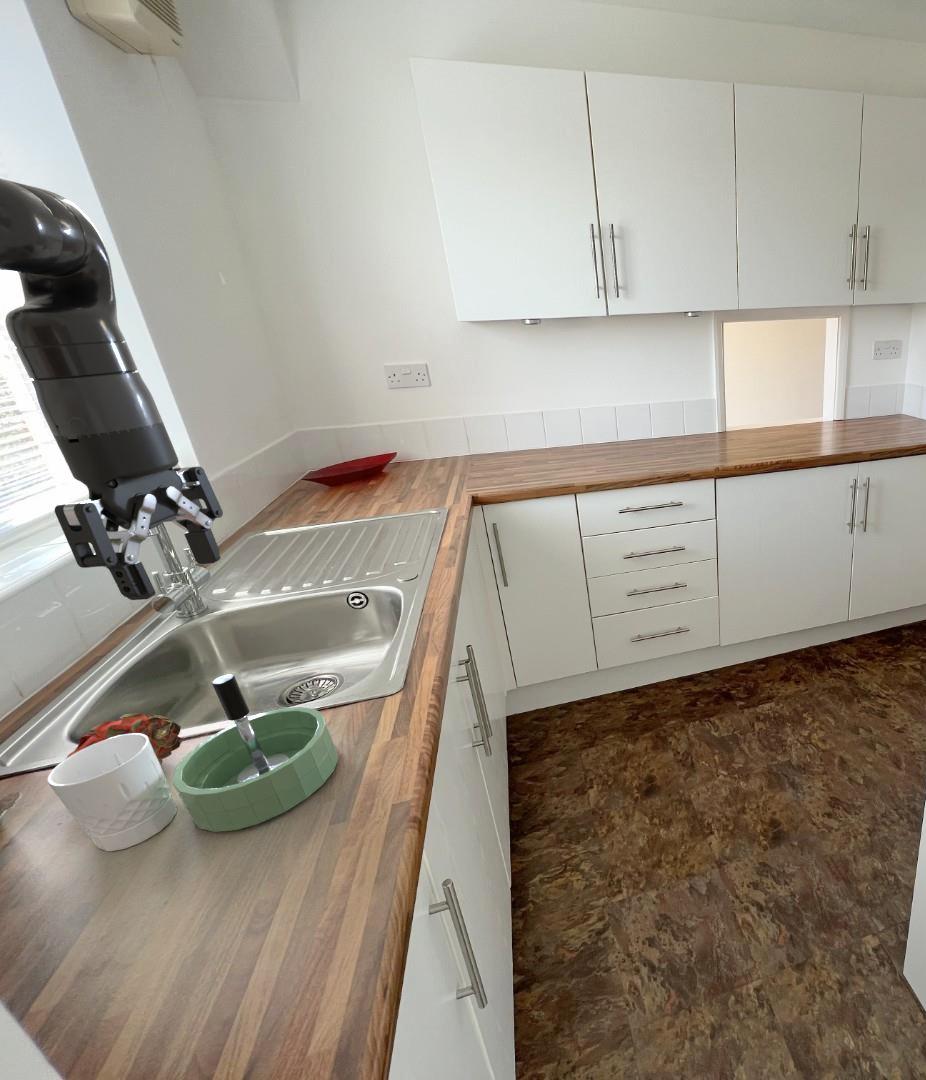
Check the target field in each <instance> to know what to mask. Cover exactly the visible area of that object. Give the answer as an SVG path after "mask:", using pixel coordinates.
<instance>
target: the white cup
mask: <svg viewBox="0 0 926 1080" xmlns="http://www.w3.org/2000/svg"><path fill="white" fill-rule="evenodd" d="M46 782H47V784H48V785H49V786H50V788H51V789H52V791H53V792H54V794H56V796H57V797H58V799H59V800H60V801H61V803H62V804H63V805H64V806H65V808H66V809H67V811H68V813H70V815H71V816H72V817H73V818H74V819H75V821H76V822H77V823H78V825H79V826H80V828H82V830H84V832H86V833H87V834H88V836H89V837H90V839H91V840H92V841H93V843H94V844H95V845H96V847H97V848H98V849H99V850H102V851H104V852H115V851H121V850H125V849H128V848H131V847H133V846H136V845H139V844H141V843H143V842H145V841H146V840H148V839H150V838H151V837H154V836H155V835H156V834H158V833H159V832H161V831H162V830H163V829H164V828H166V827H167V826H168V825H169V824H170V823H171V822H172V821H173V819H174V818H175V816H176V814H177V813H178V809H177V804H176V802H175V800H174V798H173V796H172V793H171V787H170V785H169V783H168V780H167V777H166V775H165V773H164V769H163V767H162V766H161V764H160V763H159V761H158V759H157V756H156V754H155V752H154V750H153V747H152V745H151V743H150V741H149V738H148V737H147V736H146V735H144V734H139V733H133V734H125V735H120V736H116V737H112V738H109V739H106V740H103V741H100V742H98V743H95V744H93V745H90V746H88V747H86V748H84V749H82V750H80V751H78V752H76V753H75V754H73V755H71V756H70V757H68V758H66V757H65V760H62V761H61V762H60V763H58V764H56V766H55V767H54V768H53V769H52V770H51V771H50V772H49V774H48V775H47V778H46Z"/></svg>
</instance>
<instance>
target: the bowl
mask: <svg viewBox="0 0 926 1080" xmlns="http://www.w3.org/2000/svg"><path fill="white" fill-rule="evenodd" d="M248 719H249V722H250V724H251V726H252V728H253V731H254V733H255V735H256V737H257V740H258V742H259V744H260V746H261V749H262V751H263V753H264V756H265V757H266V756H269V755H273V754H284V755H287V756H288V757H289V760H288V761H286V762H284V763H283V764H281V765H279V766H277V767H276V768H274V769H272V770H270V771H269V772H267V773H264V774H262V775H259V776H257V777H255V778H252V779H250V780H247V781H245V782H242V783H237V777H238V775H239V773H240V772H241V771H242V770H243V769H244V768H245V767H247V766H248V765H249V764H251V763H253V761H252V759H251V757H250V755H249V752H248V750H247V748H246V746H245V744H244V741H243V739H242V737H241V735H240V733H239V730H238V728H237V726H236V724H235V723H233V724H232V725H229V726H227V727H225V728H223V729H221V730H220V731H218V732H216V733H215V734H213V735H211V736H210V737H208V738H207V739H205V740H204V741H202V742H201V743H199V744H198V745H196V747H194V748H193V749H192V750H191V751H190V752H189V753H187V755H185V756H184V757H183V758H182V759H181V760H180V762H179V764H178V765H177V767H176V768H175V769H174V771H173V777H172V786H173V788H174V790H175V791H176V793H177V795H178V797H179V799H180V801H181V803H182V804H183V807H184V809H185V811H186V812H187V814H188V816H189V818H190V820H191V821H192V822H193V824H194V825H195V826H196V827H197V828H198V829H201V830H205V831H209V832H212V833H216V832H217V833H218V832H228V831H229V832H230V831H238V830H240V829H241V830H242V829H244V828H248V827H252V826H256V825H259V824H261V823H264V822H266V821H268V820H271V819H273V818H275V817H277V816H279V815H282V814H283V813H285V812H287V811H289V810H290V809H292V808H294V807H295V806H297V805H299V804H300V803H301V802H303V801H305V800H307V799H308V798H309V797H311V795H312V794H314V793H315V792H316V791H317V790H318V789H320V787H322V786H323V785H324V784H325V783H326V781H327V780H328V779H329V778H330V777H331V775H332V773H333V772H334V771H335V769H336V765H337V763H338V760H339V754H338V753H339V752H338V750H337V747H336V744H335V741H334V738H333V735H332V734H331V731H330V728H329V726H328V723H327V721H326V717H325V715H324V714H323V713H321V712H320V711H319V710H317V709H315V708H309V707H303V706H296V707H295V706H294V707H282V708H277V709H275V710H273V709H272V710H269V711H265V712H261V713H258V714H256V715H253V716H251V717H248Z"/></svg>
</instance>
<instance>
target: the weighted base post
mask: <svg viewBox="0 0 926 1080" xmlns="http://www.w3.org/2000/svg"><path fill="white" fill-rule="evenodd" d="M211 685H212V687H213V689H214V691H215V693H216V696H217V698H218V700H219V702H220V704H221V707H222V709H223V712H224V713H225V715H226V718H227V720H228V721H234V724H236V726H237V728H238V730H239V733H240V735H241V737H242V739H243V741H244V744H245V746H246V748H247V750H248V752H249V755H250V757H251V759H252V761H253V763H251V764H249V765H248V766H247V767H245V768H244V769H243V770H242V771H241V772H240V773H239V775H238V777H237V783H242V782H245V781H247V780H250V779H252V778H255V777H257V776H259V775H262V774H264V773H267V772H269V771H270V770H272V769H274V768H276V767H277V766H279V765H281V764H283V763H284V762H286V761H288V760H289V757H288V756H287V755H284V754H273V755H269V756H266V757H265V756H264V753H263V751H262V749H261V746H260V744H259V742H258V740H257V737H256V735H255V733H254V731H253V728H252V726H251V724H250V722H249V719H248V718H249V717H248V715H249V713H250V708H249V706H248V704H247V701H246V699H245V697H244V695H243V692H242V690H241V687H240V686H239V684H238V681H237V679H236V676H235V675H234V674H233V673H227V674H223V675H220V676H218V677H216V678H215V679H213V680H212V682H211Z"/></svg>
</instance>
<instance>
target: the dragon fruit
mask: <svg viewBox="0 0 926 1080" xmlns="http://www.w3.org/2000/svg"><path fill="white" fill-rule="evenodd" d="M118 719H119V720H107V721H104V722H101V723H99V724H97V725H95V726H93V727H92V728H91V729H89V733H87V734H85V735H82V736H81V737H80V738H79V743H78V744H77V746H76V747H75V749H74V750H73V751H72V752H70V753H69V754H68V755H67V756H66V757H65V759H66V758H68V757H70V756H71V755H73V754H75V753H76V752H78V751H80V750H82V749H84V748H86V747H88V746H90V745H93V744H95V743H98V742H100V741H103V740H106V739H109V738H112V737H116V736H120V735H125V734H133V733H139V734H144V735H146V736H147V737H148V738H149V741H150V743H151V745H152V747H153V750H154V752H155V754H156V756H157V759H158V761H159V763H160V765H161V764H162V763H163V759H166V758H169V757H170V756H171V755H172V754H173V753H172V752H173V751H176V750H177V749H179V748H180V747H181V744H182V743H183V740H184V738H182V737H180V736H179V735H180V733H181V729H182V726H181V725H179V724H178V723H177V722H175V721H171V719H170V718H168V717H167V716H162V715H157V714H149V715H148V716H146V715H145V714H144V713H125V714H123V715H121V716H119V717H118ZM65 759H64V760H65ZM64 760H63V761H64Z"/></svg>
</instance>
